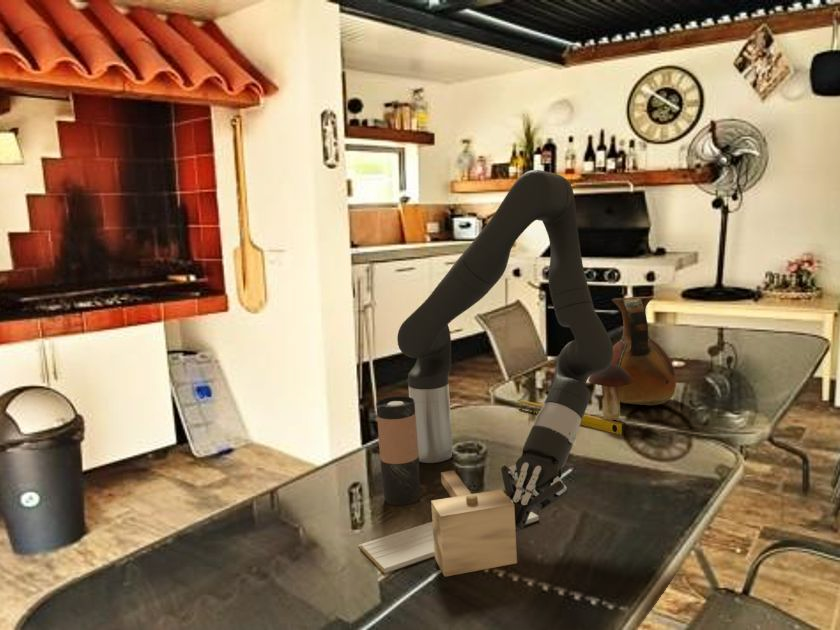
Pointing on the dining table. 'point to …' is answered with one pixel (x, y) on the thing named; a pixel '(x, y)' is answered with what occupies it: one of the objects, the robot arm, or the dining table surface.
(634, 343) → the ceramic pitcher
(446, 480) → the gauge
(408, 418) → the travel mug
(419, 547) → the baseboard
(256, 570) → the dining table surface
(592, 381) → the decorative mushroom
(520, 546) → the dining table surface
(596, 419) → the spirit level
